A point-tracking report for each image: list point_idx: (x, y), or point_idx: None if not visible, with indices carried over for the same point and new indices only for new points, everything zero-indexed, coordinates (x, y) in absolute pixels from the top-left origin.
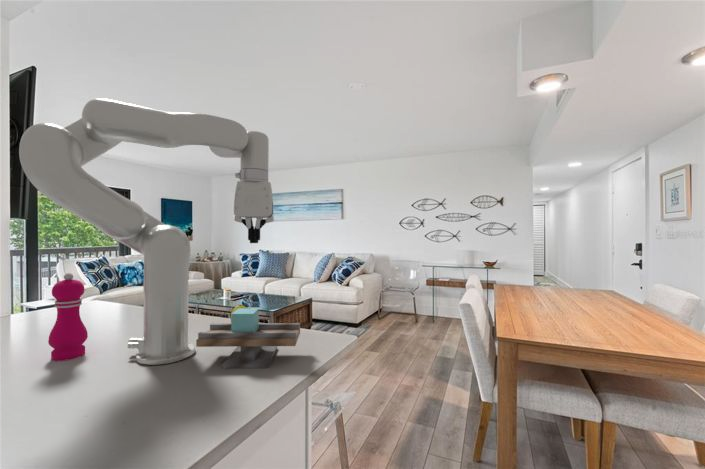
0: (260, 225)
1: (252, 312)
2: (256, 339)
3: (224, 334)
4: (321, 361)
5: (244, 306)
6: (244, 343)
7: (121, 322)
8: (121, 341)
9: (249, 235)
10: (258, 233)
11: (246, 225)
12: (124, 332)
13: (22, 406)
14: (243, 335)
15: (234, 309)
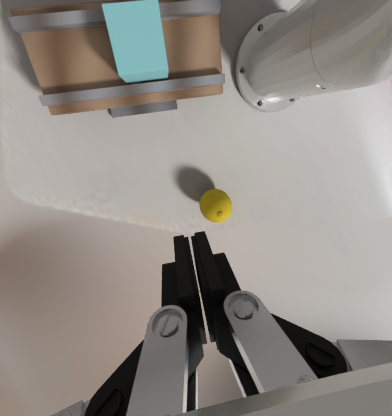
0: (146, 350)
1: (111, 21)
2: (97, 4)
3: (167, 4)
4: (5, 60)
5: (213, 216)
6: None
7: (388, 205)
8: (359, 124)
9: (221, 267)
10: (164, 288)
11: (266, 310)
12: (369, 164)
13: None
14: None
15: (226, 203)
